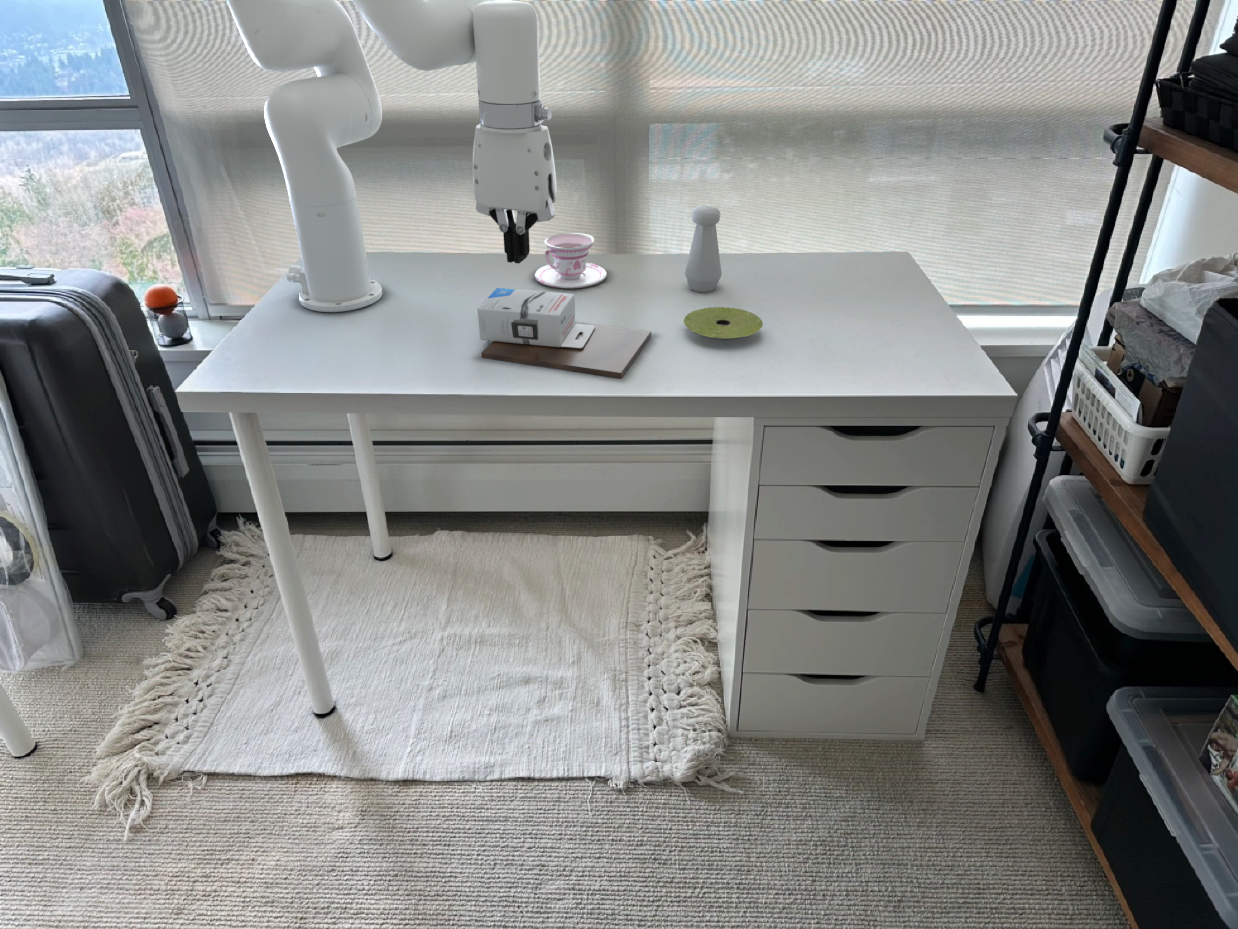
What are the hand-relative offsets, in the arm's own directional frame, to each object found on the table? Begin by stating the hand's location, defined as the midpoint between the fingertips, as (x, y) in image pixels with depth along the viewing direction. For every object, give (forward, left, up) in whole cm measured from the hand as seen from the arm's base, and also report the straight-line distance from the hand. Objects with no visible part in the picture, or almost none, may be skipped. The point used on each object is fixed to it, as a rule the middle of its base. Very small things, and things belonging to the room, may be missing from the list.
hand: (517, 259), depth 115 cm
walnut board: (+7, 0, -12) cm, 14 cm away
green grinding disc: (+26, +11, -12) cm, 31 cm away
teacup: (-3, +26, -12) cm, 29 cm away
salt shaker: (+19, +28, -12) cm, 36 cm away
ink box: (-5, 0, -9) cm, 10 cm away
